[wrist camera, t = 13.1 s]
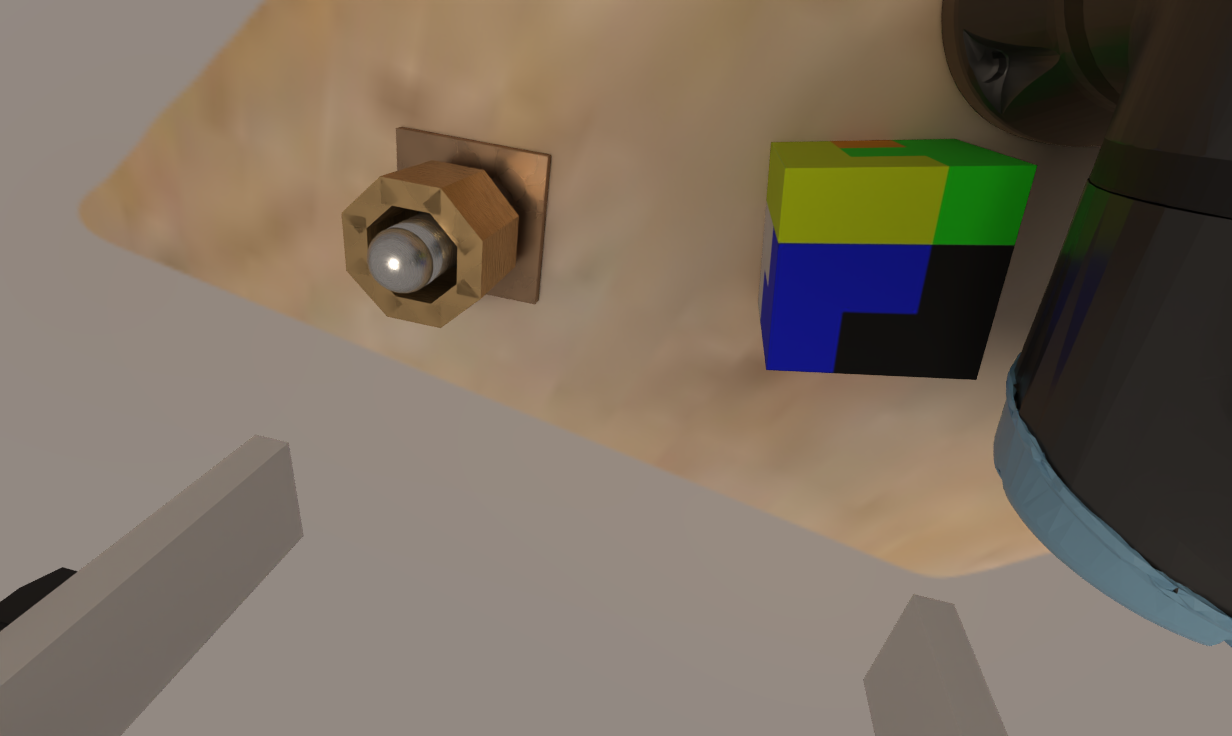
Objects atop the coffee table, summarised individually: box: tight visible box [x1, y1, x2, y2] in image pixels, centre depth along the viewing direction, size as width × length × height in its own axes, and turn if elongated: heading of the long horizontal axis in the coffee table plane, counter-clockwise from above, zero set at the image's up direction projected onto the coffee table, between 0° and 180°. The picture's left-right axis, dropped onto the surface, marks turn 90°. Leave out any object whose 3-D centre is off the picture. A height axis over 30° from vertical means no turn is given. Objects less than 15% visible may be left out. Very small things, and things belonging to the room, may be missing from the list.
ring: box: [342, 160, 519, 328], centre depth 34 cm, size 8×8×6 cm
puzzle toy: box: [758, 139, 1037, 380], centre depth 31 cm, size 10×10×10 cm
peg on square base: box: [367, 127, 551, 304], centre depth 34 cm, size 10×10×12 cm
